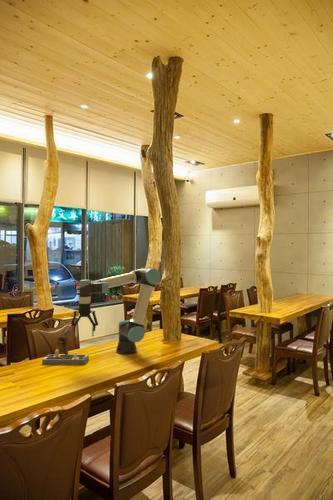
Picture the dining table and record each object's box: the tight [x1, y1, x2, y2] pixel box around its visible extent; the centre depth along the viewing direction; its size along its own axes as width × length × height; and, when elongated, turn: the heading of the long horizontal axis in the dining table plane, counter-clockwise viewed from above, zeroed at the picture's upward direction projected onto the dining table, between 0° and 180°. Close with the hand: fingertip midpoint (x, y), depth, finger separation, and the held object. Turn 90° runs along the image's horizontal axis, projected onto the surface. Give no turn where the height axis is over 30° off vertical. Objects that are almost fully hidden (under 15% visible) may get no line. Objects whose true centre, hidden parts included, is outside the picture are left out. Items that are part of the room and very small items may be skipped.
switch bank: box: [41, 354, 90, 365], centre depth 240 cm, size 28×12×3 cm, turn 90°
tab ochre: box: [54, 349, 61, 357], centre depth 243 cm, size 4×3×5 cm
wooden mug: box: [55, 330, 72, 355], centre depth 258 cm, size 9×14×18 cm, turn 49°
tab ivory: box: [72, 351, 79, 359], centre depth 237 cm, size 4×3×5 cm
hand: (84, 336), depth 238 cm, fingers open, 10 cm apart
